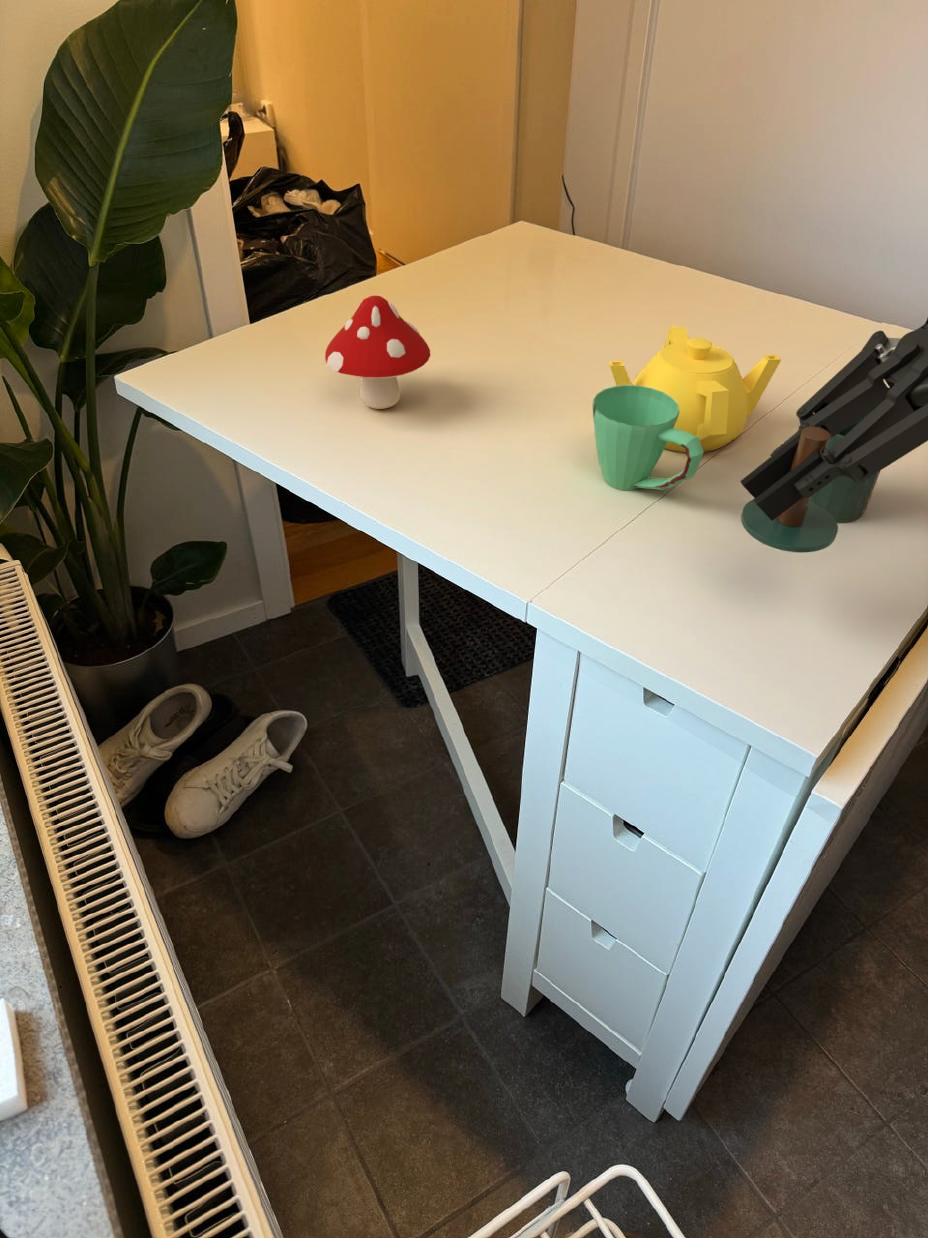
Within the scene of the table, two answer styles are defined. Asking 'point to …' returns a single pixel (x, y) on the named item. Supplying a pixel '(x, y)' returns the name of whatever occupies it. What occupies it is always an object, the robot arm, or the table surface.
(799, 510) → the ring toss peg stand
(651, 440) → the mug
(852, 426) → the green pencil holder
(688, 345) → the teapot
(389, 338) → the decorative mushroom
